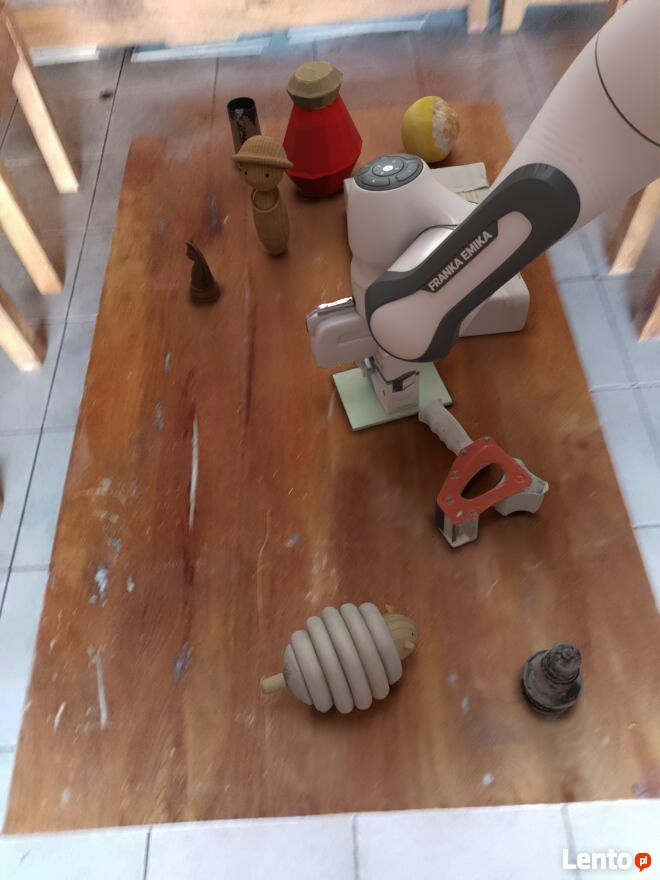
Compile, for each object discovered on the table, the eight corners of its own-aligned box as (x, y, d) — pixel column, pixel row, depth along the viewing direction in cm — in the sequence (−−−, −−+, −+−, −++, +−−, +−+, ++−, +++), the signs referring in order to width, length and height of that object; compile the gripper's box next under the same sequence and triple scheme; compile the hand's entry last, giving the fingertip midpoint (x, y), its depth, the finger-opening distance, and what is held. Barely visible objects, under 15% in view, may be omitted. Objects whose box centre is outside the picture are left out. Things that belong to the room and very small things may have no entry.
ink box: (363, 371, 100) (359, 310, 91) (396, 361, 101) (396, 299, 91) (386, 416, 96) (384, 357, 86) (420, 405, 96) (422, 345, 87)
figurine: (244, 262, 116) (220, 151, 100) (259, 233, 120) (237, 122, 104) (297, 269, 115) (281, 157, 98) (310, 239, 118) (296, 127, 102)
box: (527, 332, 103) (479, 195, 122) (535, 293, 97) (483, 154, 115) (367, 353, 104) (343, 213, 122) (364, 316, 97) (340, 174, 116)
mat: (426, 351, 102) (426, 349, 102) (452, 403, 97) (452, 401, 96) (332, 377, 101) (332, 374, 101) (353, 431, 95) (353, 428, 95)
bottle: (323, 147, 133) (313, 36, 117) (380, 172, 127) (378, 59, 111) (265, 191, 127) (246, 80, 111) (322, 219, 121) (311, 106, 105)
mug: (237, 153, 134) (224, 91, 124) (266, 150, 134) (256, 88, 124) (235, 179, 130) (222, 117, 120) (265, 176, 129) (255, 113, 120)
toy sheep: (438, 685, 76) (444, 650, 66) (293, 761, 72) (278, 735, 63) (391, 601, 81) (390, 558, 72) (254, 668, 78) (235, 631, 69)
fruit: (405, 177, 126) (405, 124, 118) (397, 142, 132) (397, 89, 124) (463, 170, 126) (467, 117, 118) (452, 136, 132) (456, 83, 124)
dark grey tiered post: (517, 658, 77) (534, 616, 67) (573, 662, 76) (599, 621, 66) (519, 715, 73) (537, 680, 63) (578, 720, 72) (606, 686, 63)
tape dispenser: (424, 411, 98) (385, 532, 86) (424, 384, 94) (383, 508, 82) (556, 434, 93) (533, 566, 82) (563, 407, 89) (539, 542, 78)
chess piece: (209, 279, 115) (194, 228, 107) (228, 294, 112) (215, 244, 104) (186, 294, 113) (169, 243, 105) (204, 310, 111) (189, 259, 103)
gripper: (310, 329, 81) (321, 404, 92) (481, 284, 83) (471, 363, 94) (296, 292, 84) (308, 369, 95) (460, 250, 86) (453, 330, 97)
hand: (390, 366), depth 95 cm, fingers closed on ink box, 5 cm apart
